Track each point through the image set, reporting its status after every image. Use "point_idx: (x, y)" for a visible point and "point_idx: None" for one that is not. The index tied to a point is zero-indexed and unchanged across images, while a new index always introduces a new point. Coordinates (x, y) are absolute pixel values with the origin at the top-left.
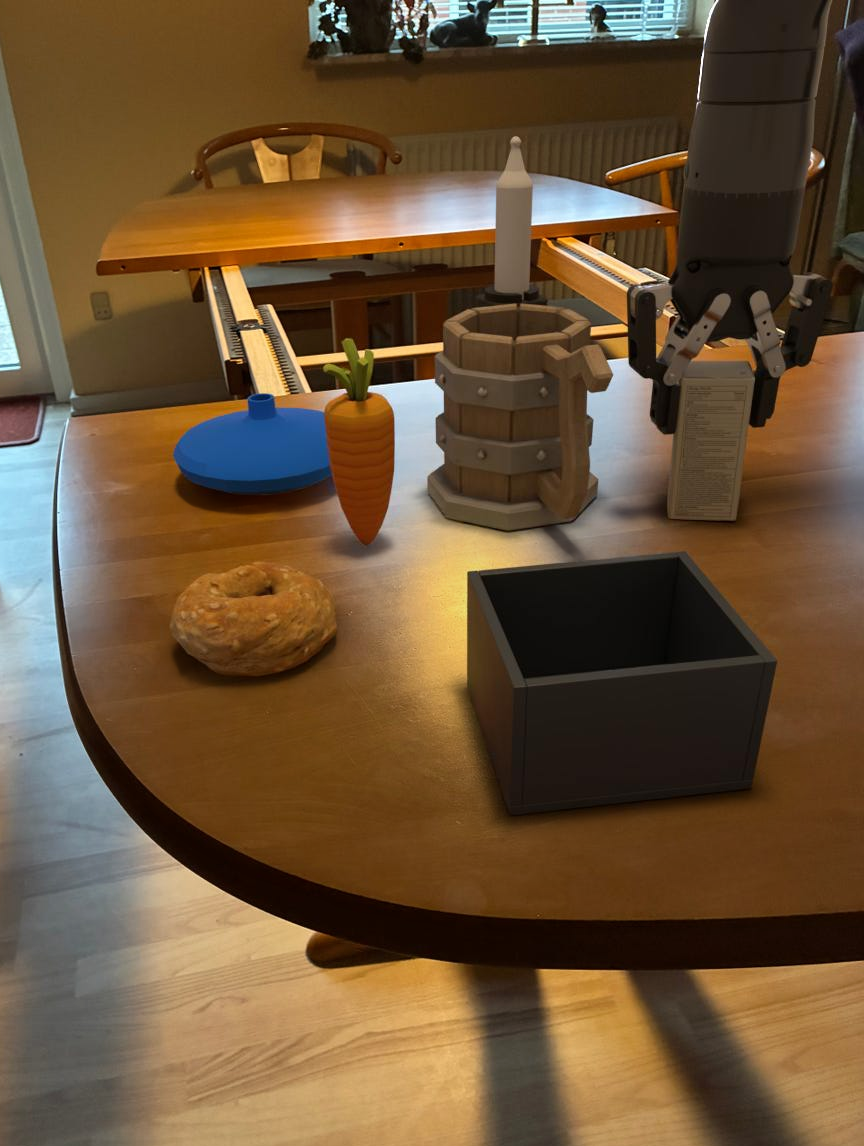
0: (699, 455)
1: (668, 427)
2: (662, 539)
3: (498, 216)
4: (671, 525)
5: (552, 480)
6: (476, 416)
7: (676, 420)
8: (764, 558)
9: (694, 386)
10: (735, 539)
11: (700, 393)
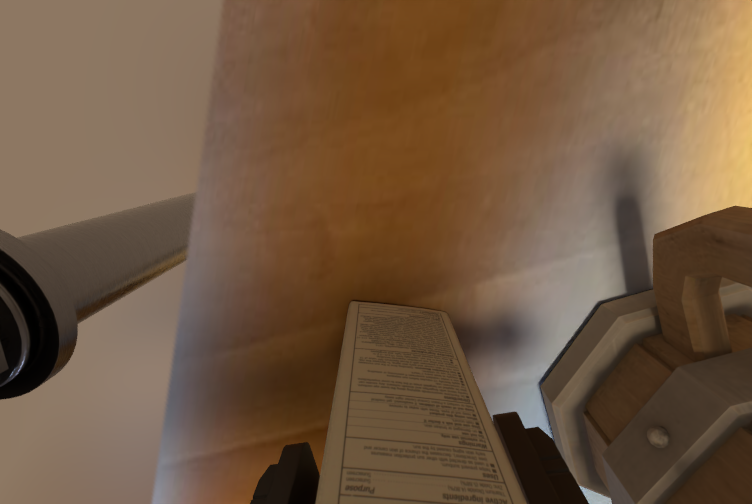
0: (428, 371)
1: (517, 421)
2: (471, 246)
3: None
4: (447, 292)
5: (714, 320)
6: None
7: (504, 437)
8: (329, 181)
9: None
10: (360, 245)
11: (472, 499)
